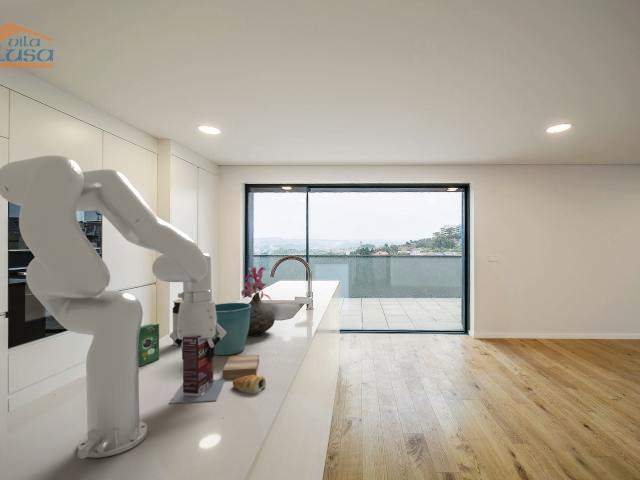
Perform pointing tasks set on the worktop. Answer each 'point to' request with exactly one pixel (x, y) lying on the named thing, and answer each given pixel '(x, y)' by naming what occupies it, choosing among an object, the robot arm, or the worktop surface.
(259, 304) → the vase
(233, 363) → the light tan stand
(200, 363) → the supplement box
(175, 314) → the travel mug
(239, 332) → the flower pot
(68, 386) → the worktop surface
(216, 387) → the gray card
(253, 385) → the pastry
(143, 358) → the coffee box
